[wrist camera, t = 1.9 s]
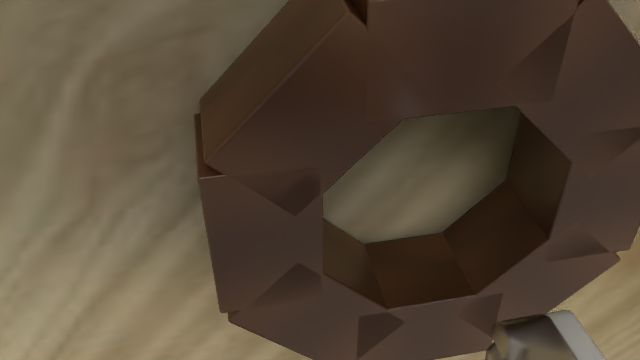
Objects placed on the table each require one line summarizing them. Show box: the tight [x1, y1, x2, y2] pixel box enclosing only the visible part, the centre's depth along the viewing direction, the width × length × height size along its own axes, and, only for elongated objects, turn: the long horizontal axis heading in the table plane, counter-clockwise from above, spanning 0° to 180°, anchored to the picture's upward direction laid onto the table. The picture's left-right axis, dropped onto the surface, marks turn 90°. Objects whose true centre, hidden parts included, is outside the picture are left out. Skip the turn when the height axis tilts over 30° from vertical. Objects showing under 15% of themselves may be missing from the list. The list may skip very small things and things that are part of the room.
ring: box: [194, 0, 640, 360], centre depth 16 cm, size 11×11×3 cm
